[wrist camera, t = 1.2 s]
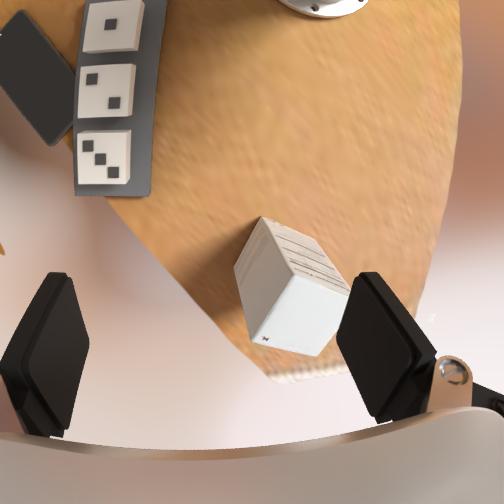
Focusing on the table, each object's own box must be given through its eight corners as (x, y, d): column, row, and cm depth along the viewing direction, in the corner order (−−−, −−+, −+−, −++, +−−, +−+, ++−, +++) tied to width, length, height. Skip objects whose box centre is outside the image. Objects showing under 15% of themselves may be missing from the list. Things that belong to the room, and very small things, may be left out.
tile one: (96, 8, 19) (89, 3, 17) (144, 5, 20) (140, -2, 18) (89, 53, 21) (81, 51, 20) (138, 50, 22) (133, 47, 20)
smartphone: (50, 150, 27) (-22, 57, 19) (54, 148, 28) (-17, 57, 20) (98, 100, 26) (21, 6, 18) (101, 99, 27) (25, 7, 19)
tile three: (84, 130, 25) (76, 134, 23) (131, 129, 26) (126, 132, 24) (85, 178, 27) (77, 184, 25) (130, 178, 28) (125, 184, 26)
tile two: (88, 68, 22) (80, 66, 20) (136, 65, 23) (131, 63, 21) (85, 116, 24) (76, 118, 22) (132, 114, 25) (126, 116, 23)
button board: (92, -3, 20) (87, -6, 19) (169, -8, 22) (168, -12, 21) (79, 191, 30) (75, 195, 29) (150, 192, 31) (148, 196, 30)
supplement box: (284, 286, 40) (316, 360, 29) (231, 267, 37) (247, 343, 26) (316, 237, 37) (362, 301, 26) (261, 212, 35) (293, 275, 24)
